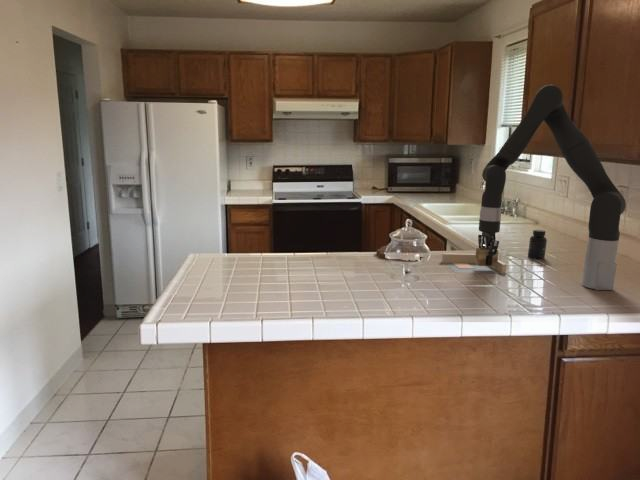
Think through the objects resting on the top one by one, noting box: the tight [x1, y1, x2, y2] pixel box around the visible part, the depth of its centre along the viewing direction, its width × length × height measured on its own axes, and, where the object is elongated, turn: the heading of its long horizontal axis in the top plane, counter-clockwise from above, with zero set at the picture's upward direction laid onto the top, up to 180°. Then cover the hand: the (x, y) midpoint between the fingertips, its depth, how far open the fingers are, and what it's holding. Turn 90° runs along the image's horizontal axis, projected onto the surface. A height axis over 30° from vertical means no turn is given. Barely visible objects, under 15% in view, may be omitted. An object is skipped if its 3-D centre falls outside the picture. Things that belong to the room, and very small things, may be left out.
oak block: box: [475, 247, 500, 266], centre depth 197 cm, size 4×7×6 cm, turn 96°
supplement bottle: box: [527, 229, 548, 260], centre depth 223 cm, size 7×7×12 cm
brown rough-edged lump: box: [375, 245, 388, 260], centre depth 220 cm, size 20×20×11 cm
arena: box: [440, 252, 508, 275], centre depth 202 cm, size 18×19×4 cm
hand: (486, 263), depth 197 cm, fingers closed on oak block, 4 cm apart
